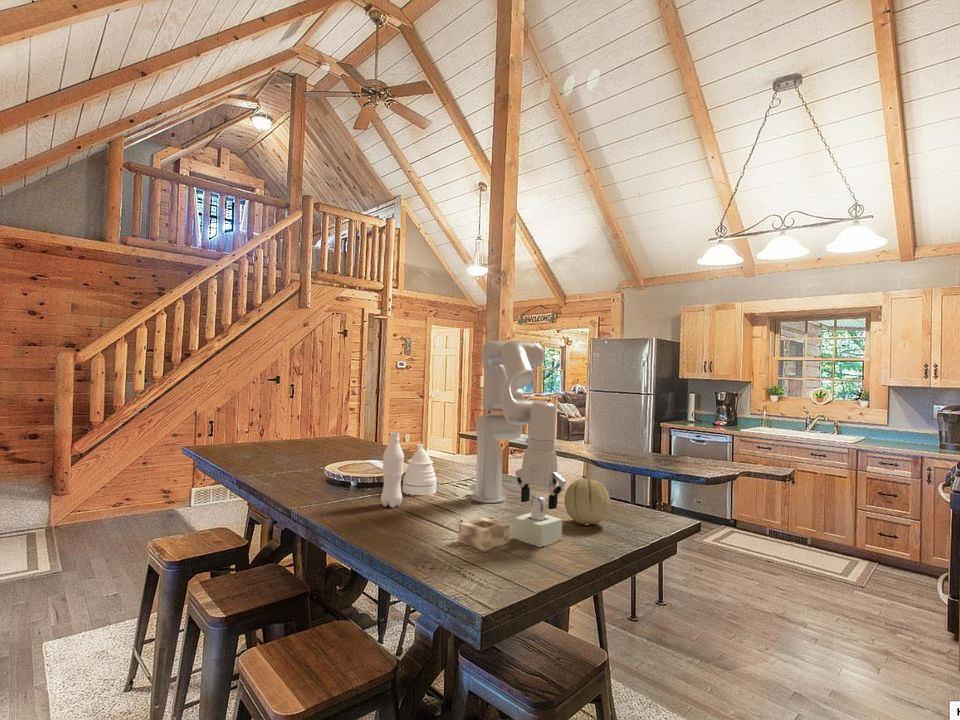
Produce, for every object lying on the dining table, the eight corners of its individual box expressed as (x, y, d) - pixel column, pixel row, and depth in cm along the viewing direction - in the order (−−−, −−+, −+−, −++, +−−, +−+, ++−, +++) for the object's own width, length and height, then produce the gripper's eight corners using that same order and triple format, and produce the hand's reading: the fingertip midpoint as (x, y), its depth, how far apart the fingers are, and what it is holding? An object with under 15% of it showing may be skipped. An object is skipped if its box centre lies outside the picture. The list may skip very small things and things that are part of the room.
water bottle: (377, 507, 174) (380, 432, 174) (385, 502, 181) (389, 430, 181) (396, 509, 172) (400, 434, 173) (404, 504, 179) (408, 432, 180)
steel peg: (527, 539, 147) (528, 496, 148) (535, 536, 150) (537, 494, 151) (538, 542, 145) (540, 499, 145) (546, 539, 148) (548, 497, 148)
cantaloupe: (586, 533, 155) (588, 483, 155) (553, 520, 167) (555, 474, 167) (619, 527, 163) (621, 480, 163) (586, 515, 175) (588, 471, 176)
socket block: (458, 541, 142) (458, 523, 143) (482, 534, 150) (483, 516, 150) (484, 551, 136) (485, 532, 136) (508, 543, 143) (509, 525, 143)
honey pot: (398, 488, 202) (400, 443, 202) (429, 487, 207) (431, 442, 208) (408, 496, 190) (410, 447, 190) (440, 494, 195) (443, 447, 196)
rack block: (512, 538, 147) (513, 517, 147) (533, 531, 154) (534, 511, 155) (540, 547, 140) (541, 525, 140) (561, 540, 148) (562, 519, 148)
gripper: (509, 442, 151) (507, 500, 151) (558, 450, 139) (556, 513, 139) (525, 440, 157) (523, 497, 156) (573, 448, 145) (571, 509, 144)
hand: (538, 504), depth 148 cm, fingers open, 9 cm apart
